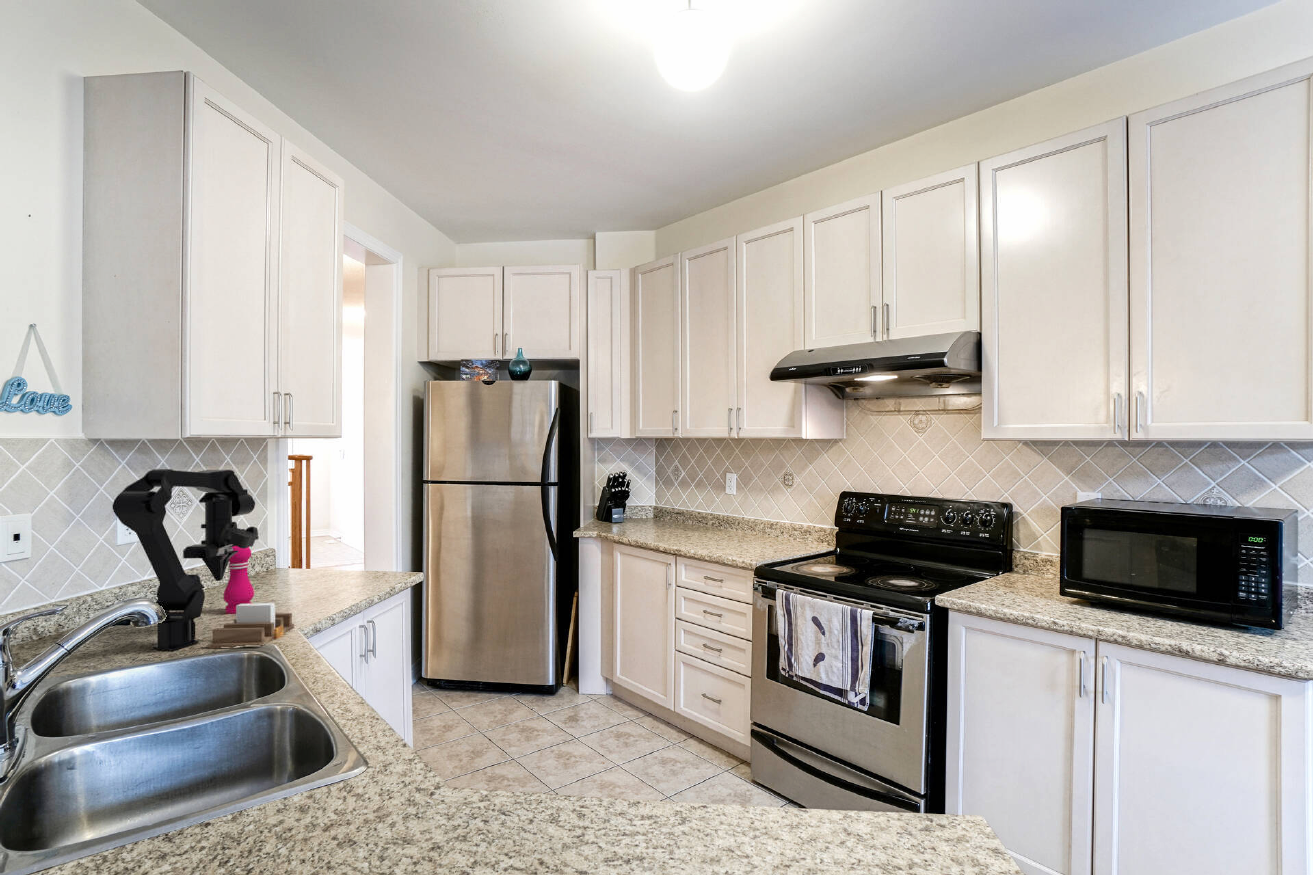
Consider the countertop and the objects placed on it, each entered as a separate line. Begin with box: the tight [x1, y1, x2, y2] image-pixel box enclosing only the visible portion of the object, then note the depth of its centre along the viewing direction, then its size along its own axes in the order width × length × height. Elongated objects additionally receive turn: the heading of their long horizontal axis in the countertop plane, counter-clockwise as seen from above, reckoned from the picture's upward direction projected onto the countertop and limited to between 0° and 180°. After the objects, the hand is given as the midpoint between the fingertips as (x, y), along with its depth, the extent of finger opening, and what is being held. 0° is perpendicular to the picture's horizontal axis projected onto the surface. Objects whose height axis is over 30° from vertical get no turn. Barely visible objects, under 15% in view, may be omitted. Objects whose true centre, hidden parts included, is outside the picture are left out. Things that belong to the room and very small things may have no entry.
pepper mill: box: [222, 546, 255, 615], centre depth 183 cm, size 7×7×20 cm
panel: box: [235, 602, 276, 629], centre depth 158 cm, size 2×8×7 cm, turn 93°
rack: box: [209, 612, 295, 650], centre depth 158 cm, size 16×12×4 cm
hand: (219, 580), depth 167 cm, fingers closed
